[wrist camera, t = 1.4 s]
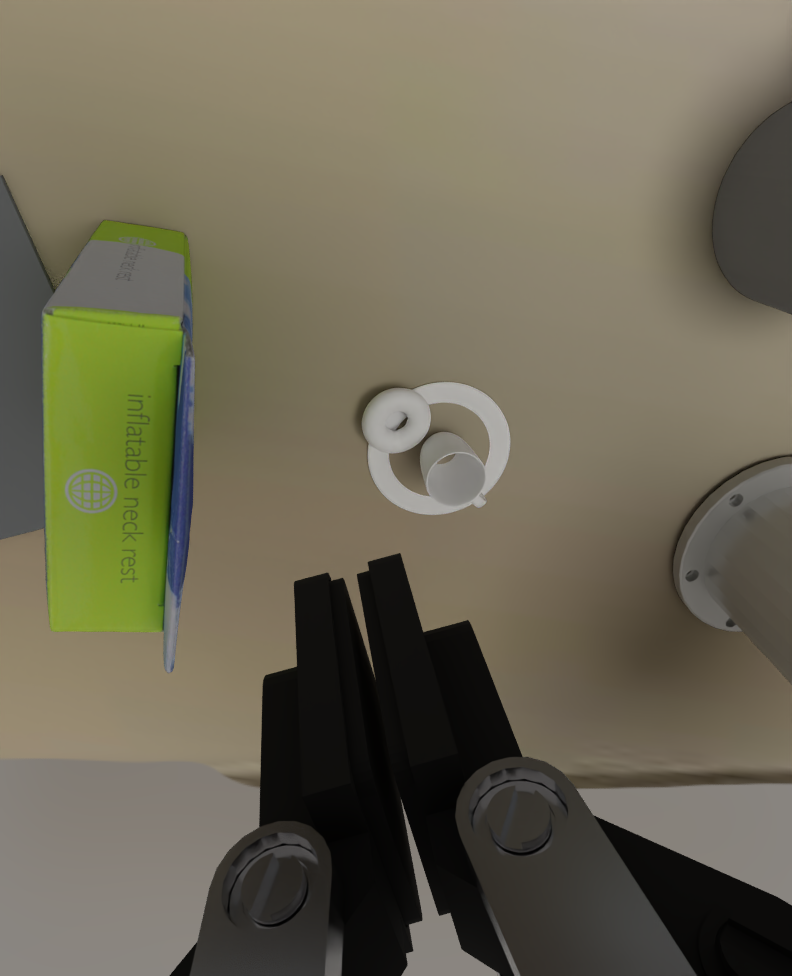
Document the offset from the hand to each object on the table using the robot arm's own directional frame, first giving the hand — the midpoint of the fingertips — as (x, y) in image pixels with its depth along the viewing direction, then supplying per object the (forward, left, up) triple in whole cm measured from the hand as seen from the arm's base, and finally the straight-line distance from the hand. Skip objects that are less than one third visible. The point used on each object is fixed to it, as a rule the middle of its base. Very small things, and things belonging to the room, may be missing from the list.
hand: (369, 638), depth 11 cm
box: (+8, 0, -25) cm, 26 cm away
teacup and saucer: (-6, +7, -26) cm, 27 cm away
